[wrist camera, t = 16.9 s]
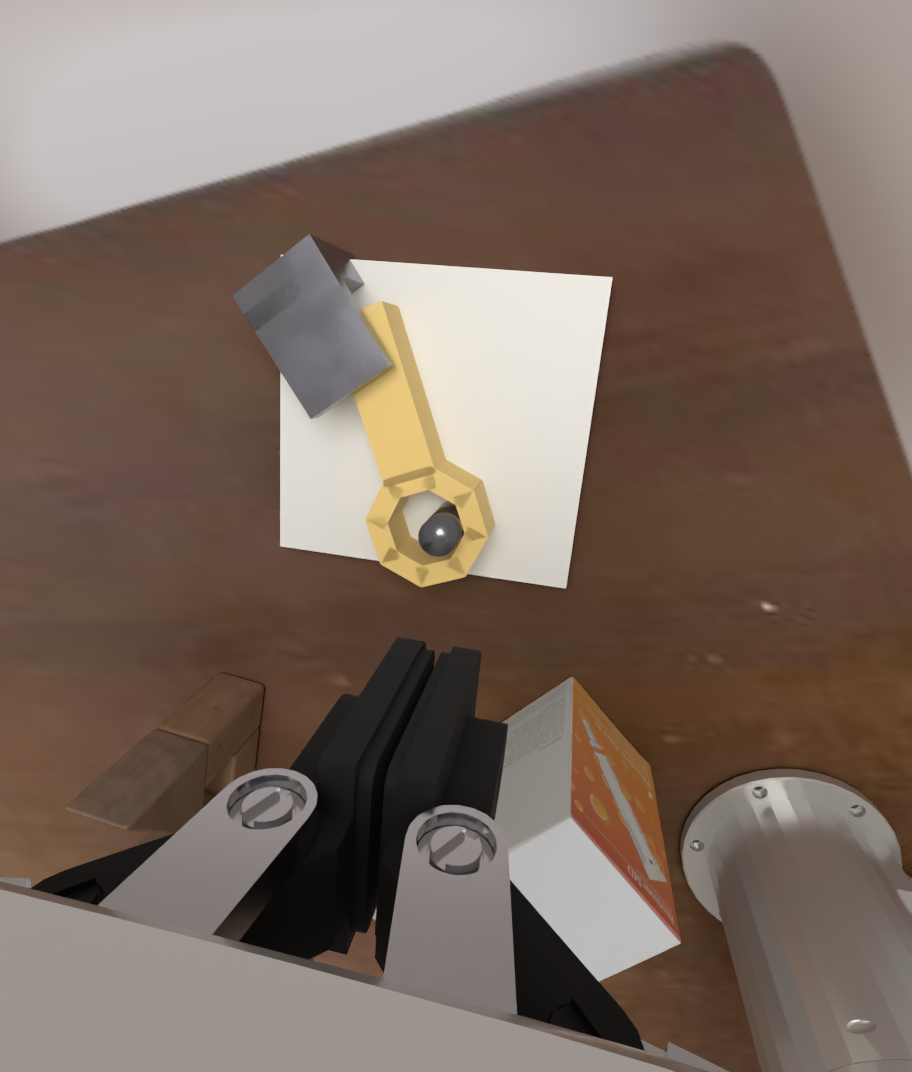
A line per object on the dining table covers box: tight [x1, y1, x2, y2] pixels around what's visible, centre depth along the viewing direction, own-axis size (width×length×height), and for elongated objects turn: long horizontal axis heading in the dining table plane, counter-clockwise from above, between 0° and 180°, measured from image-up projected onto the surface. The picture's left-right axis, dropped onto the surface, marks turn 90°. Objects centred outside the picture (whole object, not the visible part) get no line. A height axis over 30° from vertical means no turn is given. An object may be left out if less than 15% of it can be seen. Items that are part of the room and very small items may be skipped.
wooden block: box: [65, 673, 264, 845], centre depth 37 cm, size 4×11×18 cm, turn 169°
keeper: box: [233, 234, 395, 419], centre depth 33 cm, size 7×5×6 cm
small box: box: [494, 677, 681, 982], centre depth 34 cm, size 8×6×13 cm
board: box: [280, 255, 613, 589], centre depth 35 cm, size 18×17×1 cm
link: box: [353, 301, 495, 587], centre depth 34 cm, size 15×6×3 cm, turn 18°
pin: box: [418, 501, 464, 557], centre depth 34 cm, size 2×2×6 cm
